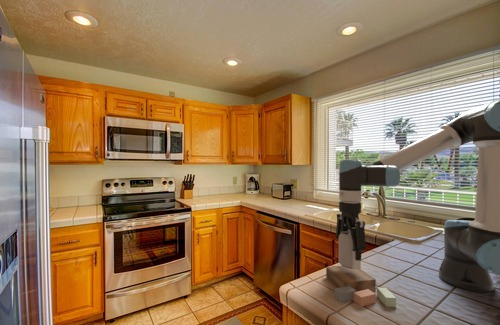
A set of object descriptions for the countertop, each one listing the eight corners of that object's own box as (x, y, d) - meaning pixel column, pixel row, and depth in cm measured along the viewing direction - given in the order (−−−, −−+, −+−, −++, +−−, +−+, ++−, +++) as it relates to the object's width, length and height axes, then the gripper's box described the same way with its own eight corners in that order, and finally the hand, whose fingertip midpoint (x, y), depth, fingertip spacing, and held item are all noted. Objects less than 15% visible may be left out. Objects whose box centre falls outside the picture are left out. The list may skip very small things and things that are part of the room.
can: (354, 261, 89) (354, 229, 90) (364, 269, 82) (364, 235, 82) (335, 261, 89) (335, 229, 89) (343, 270, 82) (344, 235, 82)
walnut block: (354, 274, 93) (354, 264, 93) (375, 291, 81) (375, 279, 81) (326, 277, 90) (326, 267, 90) (344, 294, 79) (344, 282, 79)
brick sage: (376, 296, 78) (376, 287, 78) (386, 296, 78) (386, 287, 78) (385, 307, 72) (385, 297, 72) (396, 307, 72) (396, 297, 72)
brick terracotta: (367, 298, 77) (367, 289, 77) (375, 303, 74) (375, 293, 74) (353, 301, 75) (353, 292, 75) (361, 307, 72) (361, 297, 72)
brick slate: (349, 294, 79) (349, 285, 79) (355, 299, 76) (355, 290, 76) (334, 297, 77) (334, 288, 77) (340, 302, 74) (340, 293, 74)
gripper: (326, 197, 95) (326, 253, 95) (358, 206, 75) (358, 277, 75) (343, 197, 96) (342, 252, 96) (378, 206, 77) (378, 275, 76)
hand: (349, 263), depth 86 cm, fingers closed on can, 7 cm apart
